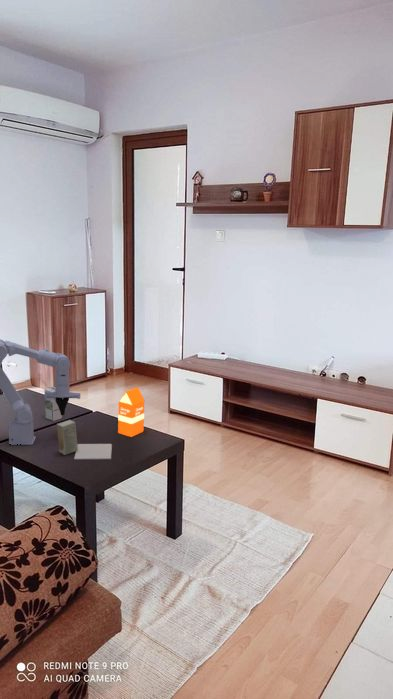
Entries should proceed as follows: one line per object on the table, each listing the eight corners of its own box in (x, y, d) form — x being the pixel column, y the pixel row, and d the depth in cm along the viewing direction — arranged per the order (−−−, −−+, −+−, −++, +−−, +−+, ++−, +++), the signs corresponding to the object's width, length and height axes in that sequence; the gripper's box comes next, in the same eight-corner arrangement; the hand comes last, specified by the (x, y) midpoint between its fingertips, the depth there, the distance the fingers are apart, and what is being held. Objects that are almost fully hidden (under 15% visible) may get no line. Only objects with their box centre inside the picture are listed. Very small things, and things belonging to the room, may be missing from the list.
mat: (74, 459, 196) (74, 458, 196) (77, 444, 210) (77, 444, 210) (110, 459, 198) (110, 458, 198) (111, 444, 212) (111, 443, 212)
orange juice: (117, 432, 225) (118, 389, 220) (130, 427, 232) (131, 385, 228) (131, 437, 221) (132, 393, 217) (144, 431, 228) (145, 388, 224)
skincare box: (72, 447, 206) (70, 419, 204) (78, 450, 203) (76, 422, 201) (58, 452, 202) (56, 423, 199) (64, 455, 199) (61, 426, 196)
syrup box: (62, 418, 239) (62, 388, 236) (52, 421, 234) (52, 391, 231) (54, 415, 242) (53, 386, 239) (44, 418, 237) (43, 388, 234)
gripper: (81, 381, 216) (81, 411, 219) (45, 380, 214) (46, 411, 217) (79, 385, 210) (79, 416, 213) (43, 385, 208) (43, 416, 211)
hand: (62, 414), depth 214 cm, fingers closed
